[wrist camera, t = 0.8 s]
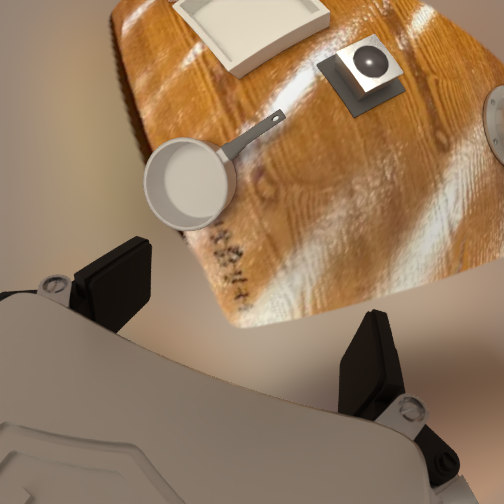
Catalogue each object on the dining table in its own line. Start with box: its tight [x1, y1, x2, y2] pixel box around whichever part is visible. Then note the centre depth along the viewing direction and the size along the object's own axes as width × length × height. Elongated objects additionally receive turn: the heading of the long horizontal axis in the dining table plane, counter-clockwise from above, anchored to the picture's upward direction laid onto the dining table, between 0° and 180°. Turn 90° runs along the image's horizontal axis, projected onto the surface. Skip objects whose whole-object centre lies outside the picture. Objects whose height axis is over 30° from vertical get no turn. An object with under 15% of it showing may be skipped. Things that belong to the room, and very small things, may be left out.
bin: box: [172, 0, 330, 79], centre depth 24 cm, size 14×14×4 cm
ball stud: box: [317, 54, 406, 118], centre depth 25 cm, size 8×8×4 cm
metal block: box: [334, 34, 403, 101], centre depth 23 cm, size 5×5×7 cm
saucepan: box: [143, 109, 286, 231], centre depth 33 cm, size 12×20×6 cm, turn 124°
